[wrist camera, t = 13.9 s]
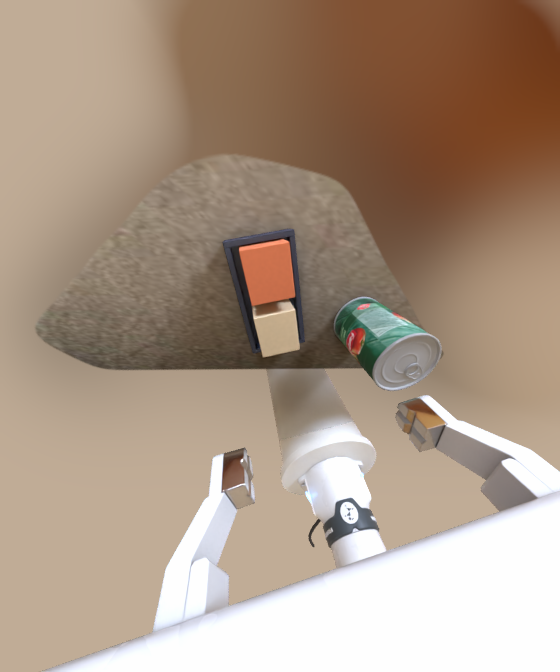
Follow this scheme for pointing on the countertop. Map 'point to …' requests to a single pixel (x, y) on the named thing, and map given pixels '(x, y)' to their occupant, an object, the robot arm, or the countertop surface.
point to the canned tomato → (386, 344)
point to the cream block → (276, 327)
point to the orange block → (268, 271)
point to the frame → (241, 285)
